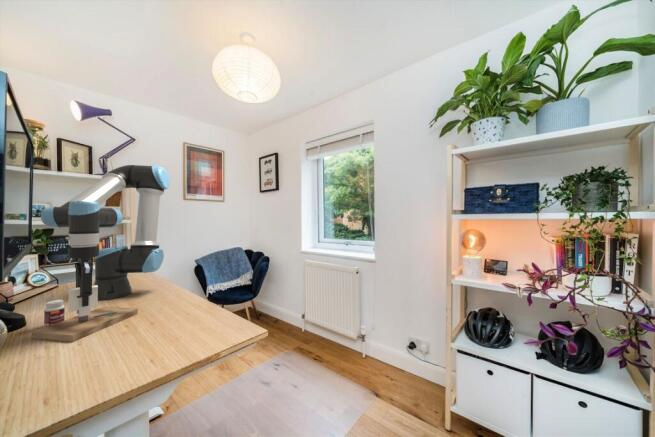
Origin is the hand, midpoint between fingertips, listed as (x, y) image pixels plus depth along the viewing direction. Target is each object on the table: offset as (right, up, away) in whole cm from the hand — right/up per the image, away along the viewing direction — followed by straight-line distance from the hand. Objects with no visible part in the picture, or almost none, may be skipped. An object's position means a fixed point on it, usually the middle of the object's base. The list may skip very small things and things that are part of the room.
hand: (83, 313), depth 84 cm
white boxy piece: (+2, -2, +2) cm, 3 cm away
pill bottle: (-11, -5, +1) cm, 12 cm away
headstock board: (+1, -5, +2) cm, 5 cm away
